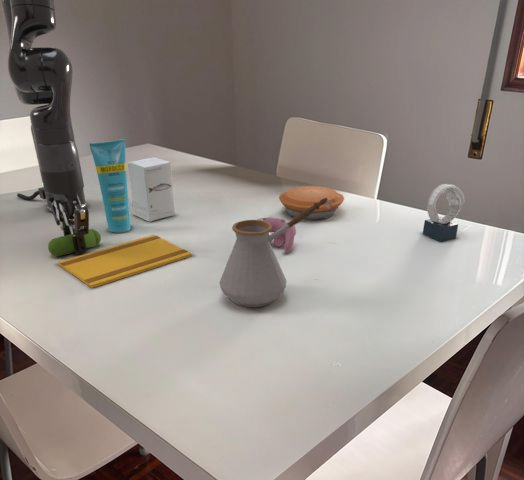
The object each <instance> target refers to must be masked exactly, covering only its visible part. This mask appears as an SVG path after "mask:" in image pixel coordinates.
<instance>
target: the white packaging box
mask: <svg viewBox="0 0 524 480" xmlns="http://www.w3.org/2000/svg"><path fill="white" fill-rule="evenodd" d="M171 163H172V162H171V161H167V160H166V159H165V160H164V159H161V158H158V157H155V156H154V157H148V158H143V159H138V160H131V161H128V162H127V169H128V177H129V184H130V192H131V199H132V207H133V208H132V209H133V215H134V216H136V217H138V218H140V219H142V220H145V221H146V222H149V223H151V222H153V221H157V220H161V219H164V218H165V219H166V218H169V217H173V216H175V215H176V210H175V198H174V188H173V187H174V185H173V176H172V175H173V174H172V165H171Z"/></svg>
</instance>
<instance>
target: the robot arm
mask: <svg viewBox="0 0 524 480" xmlns="http://www.w3.org/2000/svg"><path fill="white" fill-rule="evenodd" d="M0 5H1V10H2V14H3V15H2V16H3V19H4V25H5V29H6V34H7V43H8V57H7V71H8V75H9V78H10V80H11V83H12V84H13V86H14V91H15V94H16V97H17V98H18V100H19V102H20V103H21V104H23V105H25V106H36V107H34V108H32V109H31V110H30V112H29V121H30V133H31V136H32V141H33V146H34V150H35V154H36V160H37V165H38V169H39V174H40V178H41V183H42V187H38V189H37V190H36V191H35V192H33V193H32V194H31V195H25V194H23V193H17V194H16V196H17V198H20V199H23V200H25V201H32V200H35V199H36V198H37V197H38V196H39V198H40V199H42V200H45V201H46V208H47V211H49V212H50V213H52V215H53V218H54V221H55V224H56V225H57V226H58V227H59V228H60V230H61V231H62V233H63V236H66V235H70V234H71V235H72V239H73V244H74V249H75V252H74V253H75V254H76V255H83V254H86V253H87V250H88V249H86V245H85V239H84V235H85V234H89V229H90V212H89V209H88V207H87V205H88V204H87V200H86V196H85V190H84V188H85V183H84V178H83V172H82V167H81V166H82V165H81V161H80V156H79V151H78V148H77V144H76V140H75V139H76V138H75V134H74V130H73V124H72V118H71V93H72V85H73V65H72V61H71V59H70V57H69V56H68V54H67V53H66V52H65V51H64V50H63V49H61V48H59V47H55V46H54V47H53V46H51V47H50V46H49V47H48V46H47V47H46V46H45V47H32V45H33V43H34V41H35V39H37V38H38V37H40V36H43V35H48V34H50V33H53V31H55V29H56V28H57V18H56V12H55V11H56V10H55V1H54V0H0Z"/></svg>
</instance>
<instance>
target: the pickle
mask: <svg viewBox="0 0 524 480" xmlns="http://www.w3.org/2000/svg"><path fill="white" fill-rule="evenodd" d="M84 239H85V245H86V250H88V249H91V248H94V247H97V246H98V245H100V243H101V241H102V236H101V234H100V231H98V230H96V229H93V228H89V234H85V235H84ZM47 250H48V251H49V254H51V255H53V256H55V257H61V256H65V255H69V254H73V253H75V249H74V244H73V239H72V235H71V234H70V235H66V236H64V235H63V236H58V237H54V238H52V239H51V240H49V242H48V244H47Z"/></svg>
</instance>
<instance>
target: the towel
mask: <svg viewBox="0 0 524 480" xmlns="http://www.w3.org/2000/svg"><path fill="white" fill-rule="evenodd" d="M192 256H193V253H192V252H189V251H188V250H187V249H185V248H182V247H180V246H177V245H175V244H173V243H171V242H169V241H168V240H165V239H163V238H161V236H158V235H155V234H151V235H147V236H143V237H140V238H137V239H134V240H130V241H127V242H123V243H120V244H116V245H112V246H109V247H106V248H102V249H98V250H94V251H90V252H86V253H83V254H79V255H77V256H73V257H70V258H67V259H63V260H60V261H57V265H58V266H59V267H61V268H62V269H63V270H64V271H67V272H68V273H70V275H72V276H74V277H75V278H77V279H78V280H80V282H83V284H86V285H87V286H88V287H90V288H91V289H93V288H94V289H95V288H97V287H101V286H104V285H106V284H110V283H112V282H115V281H120V280H121V279H124V278H127V277H131V276H134V275H137V274H140V273H145V272H146V271H149V270H153V269H155V268H160V267H162V266H165V265H169V264H172V263H174V262H178V261H181V260H184V259H187V258H190V257H192Z"/></svg>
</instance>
